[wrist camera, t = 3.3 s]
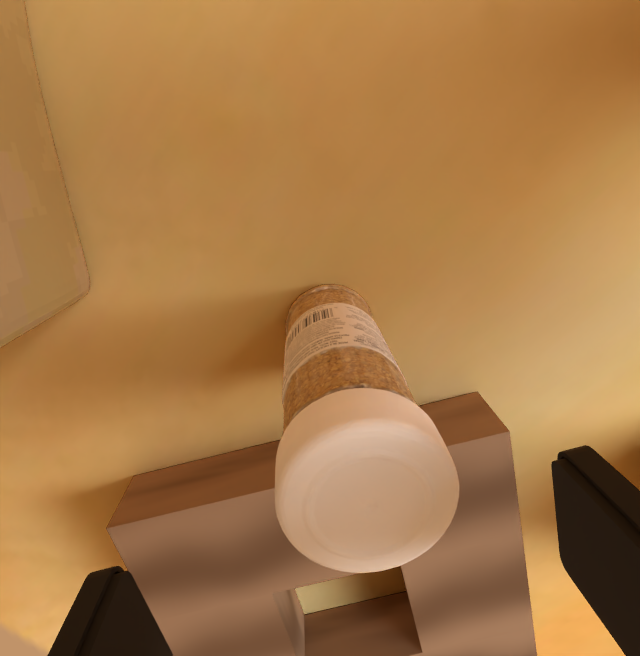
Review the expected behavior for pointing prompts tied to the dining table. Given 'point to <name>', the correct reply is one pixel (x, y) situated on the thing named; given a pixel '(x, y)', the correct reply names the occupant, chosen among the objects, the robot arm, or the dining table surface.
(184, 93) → the dining table surface
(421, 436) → the sprinkles bottle
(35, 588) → the dining table surface
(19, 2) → the cheese
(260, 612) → the walnut holder
